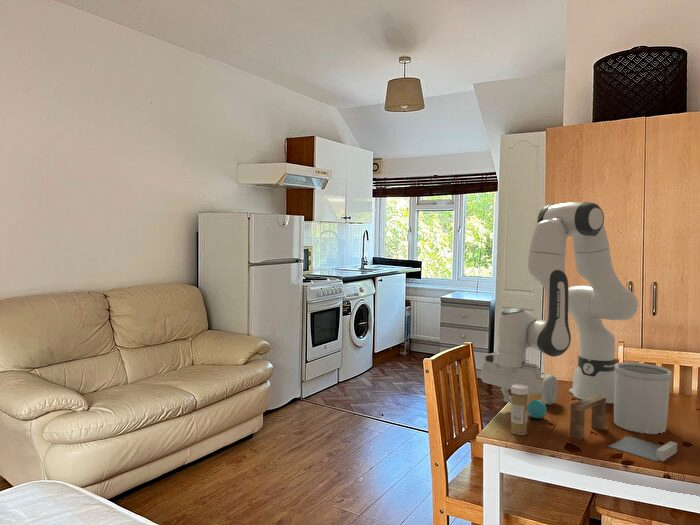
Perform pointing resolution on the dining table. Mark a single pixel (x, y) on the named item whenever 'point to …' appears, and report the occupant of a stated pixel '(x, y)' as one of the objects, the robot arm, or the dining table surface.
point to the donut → (549, 389)
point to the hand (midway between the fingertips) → (509, 402)
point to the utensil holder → (641, 397)
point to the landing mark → (637, 447)
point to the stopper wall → (666, 451)
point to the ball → (537, 409)
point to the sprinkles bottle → (519, 409)
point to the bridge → (579, 415)
